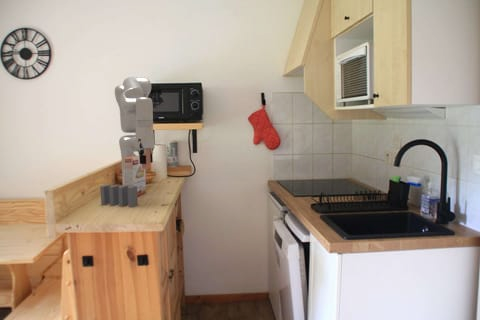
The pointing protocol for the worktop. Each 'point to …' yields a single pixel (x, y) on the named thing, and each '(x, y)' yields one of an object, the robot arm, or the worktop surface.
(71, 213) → the worktop surface
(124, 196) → the domino
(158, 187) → the worktop surface
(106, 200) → the domino
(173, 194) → the worktop surface
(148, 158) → the red domino
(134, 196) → the domino
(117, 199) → the domino
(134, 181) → the cracker box
